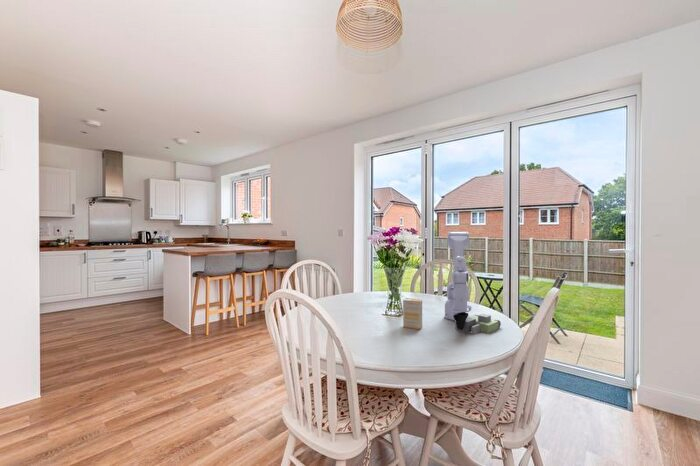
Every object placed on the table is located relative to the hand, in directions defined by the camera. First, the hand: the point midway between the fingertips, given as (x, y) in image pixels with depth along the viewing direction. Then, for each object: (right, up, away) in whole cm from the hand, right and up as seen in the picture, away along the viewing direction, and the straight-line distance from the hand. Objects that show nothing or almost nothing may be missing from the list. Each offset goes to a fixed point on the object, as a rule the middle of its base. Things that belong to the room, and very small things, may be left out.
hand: (460, 329), depth 136 cm
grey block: (+4, -2, +3) cm, 5 cm away
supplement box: (-19, -2, +8) cm, 21 cm away
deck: (+10, -1, +6) cm, 12 cm away
